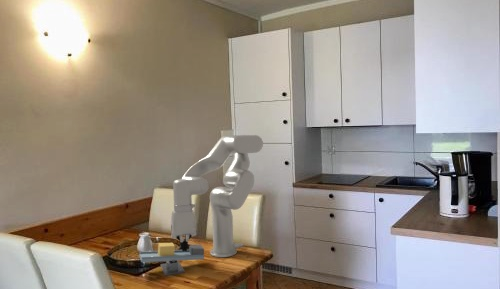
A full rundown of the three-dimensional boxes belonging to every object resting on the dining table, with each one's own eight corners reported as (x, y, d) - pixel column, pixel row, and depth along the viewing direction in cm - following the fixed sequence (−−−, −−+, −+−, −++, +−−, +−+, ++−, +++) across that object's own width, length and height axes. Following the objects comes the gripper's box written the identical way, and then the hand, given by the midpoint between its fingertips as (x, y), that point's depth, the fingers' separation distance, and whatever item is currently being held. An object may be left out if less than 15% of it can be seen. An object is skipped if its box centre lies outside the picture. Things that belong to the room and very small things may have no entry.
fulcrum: (178, 263, 172) (178, 253, 172) (184, 272, 161) (184, 262, 160) (160, 265, 169) (160, 256, 169) (165, 275, 158) (164, 265, 158)
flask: (151, 261, 175) (150, 239, 175) (136, 260, 177) (135, 238, 176) (158, 255, 182) (157, 234, 182) (144, 254, 184) (143, 234, 183)
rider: (171, 253, 167) (172, 242, 167) (173, 256, 162) (174, 246, 162) (157, 253, 165) (158, 243, 165) (159, 257, 160) (160, 246, 160)
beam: (198, 254, 174) (199, 243, 174) (204, 260, 165) (205, 249, 165) (139, 256, 164) (139, 245, 164) (141, 263, 156) (142, 252, 155)
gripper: (197, 204, 172) (199, 245, 173) (163, 208, 166) (165, 250, 167) (202, 208, 165) (203, 250, 166) (166, 211, 159) (168, 255, 160)
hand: (184, 250), depth 166 cm, fingers closed
